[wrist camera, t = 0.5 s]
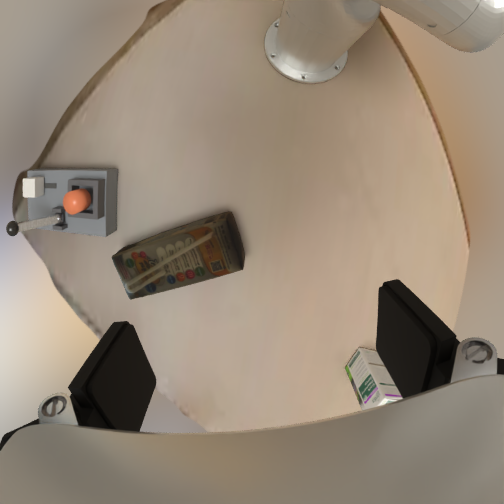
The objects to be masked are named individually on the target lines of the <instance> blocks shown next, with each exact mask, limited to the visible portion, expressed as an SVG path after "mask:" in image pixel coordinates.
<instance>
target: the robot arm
mask: <svg viewBox="0 0 504 504" xmlns="http://www.w3.org/2000/svg"><path fill="white" fill-rule="evenodd" d="M381 5H382V6H384V7H386V8H389V9H391V10H393V11H395V12H396V13H398V14H400V15H402V16H403V17H405V18H407V19H409V20H410V21H412V22H414V23H415V24H417V25H418V26H420V27H421V28H423V29H424V30H426V31H428V32H429V33H431V34H432V35H434V36H435V37H437V38H438V39H440V40H441V41H443V42H444V43H446V44H448V45H449V46H451V47H453V48H455V49H457V50H459V51H463V52H470V53H473V52H478V51H482V50H484V49H486V48H488V47H490V46H491V45H492V44H494V43H495V42H496V41H497V40H498V39H499V38H500V37H501V36H502V35H503V34H504V0H284V3H283V8H282V12H281V17H280V18H279V19H277V20H276V21H274V22H273V23H272V24H271V26H270V27H269V29H268V30H267V32H266V36H265V40H264V48H265V53H266V56H267V58H268V60H269V62H270V63H271V65H272V66H273V67H274V68H275V69H276V70H277V71H278V72H279V73H280V74H282V75H283V76H285V77H287V78H288V79H291V80H293V81H296V82H300V83H306V84H316V83H322V82H326V81H328V80H330V79H332V78H334V77H335V76H336V75H338V74H339V73H340V72H341V71H342V69H343V68H344V66H345V64H346V61H347V58H348V49H349V48H350V47H351V46H352V45H353V44H354V43H355V42H356V41H357V40H358V39H359V38H360V37H361V36H362V35H363V34H364V33H365V32H366V31H367V30H368V29H369V28H370V27H371V26H372V25H373V24H374V23H375V21H376V20H377V18H378V15H379V13H380V6H381ZM276 26H277V27H278V28H277V27H276ZM271 56H274V58H272V57H271ZM335 68H337V70H336V69H335ZM301 77H304V78H305V79H302V78H301ZM376 350H377V353H378V355H379V357H380V359H381V360H382V362H383V364H384V366H385V367H386V369H387V371H388V373H389V374H390V376H391V378H392V380H393V381H394V383H395V385H396V387H397V389H398V391H399V392H400V394H401V396H402V398H403V399H400V400H397V401H394V402H391V403H387V404H384V405H380V406H377V407H373V408H369V409H366V410H362V411H358V412H354V413H350V414H346V415H341V416H337V417H332V418H327V419H322V420H317V421H312V422H306V423H300V424H294V425H287V426H280V427H272V428H264V429H255V430H244V431H231V432H212V433H154V432H139V431H140V428H141V425H142V422H143V420H144V416H145V414H146V411H147V408H148V405H149V403H150V400H151V397H152V394H153V391H154V389H155V386H156V377H155V374H154V372H153V370H152V368H151V366H150V364H149V361H148V359H147V357H146V354H145V352H144V350H143V347H142V345H141V343H140V340H139V338H138V335H137V333H136V330H135V328H134V326H133V325H132V324H129V322H127V321H123V322H114V323H113V324H112V325H111V326H110V328H109V329H108V330H107V332H106V333H105V334H104V336H103V337H102V339H101V340H100V341H99V343H98V344H97V346H96V347H95V349H94V350H93V351H92V353H91V354H90V356H89V357H88V358H87V360H86V361H85V363H84V364H83V366H82V367H81V369H80V370H79V372H78V373H77V375H76V376H75V378H74V379H73V381H72V382H71V384H70V385H69V387H68V388H69V390H70V391H71V393H72V394H71V396H70V397H69V396H68V395H67V394H65V393H55V394H52V395H50V396H48V397H47V398H46V399H44V400H43V401H42V403H41V404H40V406H39V408H38V417H39V419H37V420H34V421H32V422H30V423H28V424H26V425H24V426H22V427H20V428H17V429H15V430H13V431H11V432H9V433H6V434H5V435H4V436H3V438H2V440H1V443H0V504H504V359H500V358H497V351H496V348H495V347H494V345H493V344H492V343H490V342H489V341H487V340H485V339H482V338H468V339H465V340H463V341H462V342H461V343H460V342H459V341H458V340H457V339H456V335H455V334H454V333H453V332H452V331H451V330H450V329H449V328H448V326H447V325H446V324H445V323H444V322H443V321H442V320H441V319H440V318H439V317H438V316H437V315H436V314H435V313H434V312H432V311H431V310H430V309H429V308H428V307H427V306H426V305H425V304H424V303H423V302H422V301H421V300H420V299H419V298H418V297H417V296H416V295H415V294H414V293H413V292H412V291H411V290H410V289H408V288H407V287H406V286H405V285H404V284H403V283H402V282H401V281H400V280H398V279H396V280H392V281H387V282H384V283H383V286H382V287H380V288H379V296H378V322H377V338H376Z"/></svg>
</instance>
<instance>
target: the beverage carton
mask: <svg viewBox="0 0 504 504" xmlns="http://www.w3.org/2000/svg"><path fill="white" fill-rule="evenodd" d="M112 260H113V262H114V265H115V267H116V270H117V272H118V274H119V276H120V279H121V281H122V283H123V285H124V288H125V290H126V293H127V295H128V297H129V299H130V300H131V299H135V298H139V297H144V296H147V295H152V294H156V293H160V292H164V291H167V290H172V289H175V288H179V287H183V286H187V285H191V284H194V283H198V282H202V281H206V280H209V279H213V278H216V277H220V276H223V275H227V274H230V273H234V272H237V271H240V270H243V267H244V261H245V254H244V249H243V245H242V242H241V238H240V235H239V232H238V228H237V225H236V223H235V220H234V217H233V215H232V212H226V213H223V214H219V215H215V216H212V217H209V218H206V219H202V220H199V221H196V222H193V223H191V224H187V225H184V226H181V227H178V228H175V229H172V230H169V231H166V232H163V233H161V234H158V235H155V236H153V237H150V238H147V239H145V240H142V241H140V242H138V243H136V244H133V245H130V246H127V247H123V248H122V249H121V250H119V251H118V252H117V253H116V254H114V255H113V256H112Z"/></svg>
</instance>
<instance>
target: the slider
mask: <svg viewBox="0 0 504 504" xmlns="http://www.w3.org/2000/svg"><path fill="white" fill-rule="evenodd" d="M42 195H44V177H29V178H24V179H23V197H32V198H35V197H39V196H42Z"/></svg>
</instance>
